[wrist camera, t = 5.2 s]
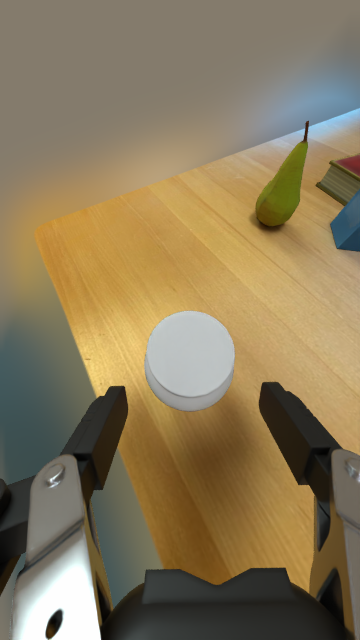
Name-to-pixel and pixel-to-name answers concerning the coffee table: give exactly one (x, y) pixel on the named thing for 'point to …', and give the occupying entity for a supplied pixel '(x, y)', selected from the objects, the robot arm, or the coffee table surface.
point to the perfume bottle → (348, 225)
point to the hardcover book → (342, 178)
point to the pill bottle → (189, 361)
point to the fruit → (283, 188)
